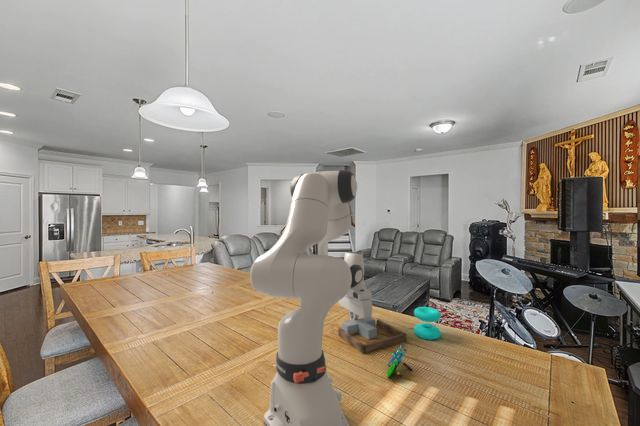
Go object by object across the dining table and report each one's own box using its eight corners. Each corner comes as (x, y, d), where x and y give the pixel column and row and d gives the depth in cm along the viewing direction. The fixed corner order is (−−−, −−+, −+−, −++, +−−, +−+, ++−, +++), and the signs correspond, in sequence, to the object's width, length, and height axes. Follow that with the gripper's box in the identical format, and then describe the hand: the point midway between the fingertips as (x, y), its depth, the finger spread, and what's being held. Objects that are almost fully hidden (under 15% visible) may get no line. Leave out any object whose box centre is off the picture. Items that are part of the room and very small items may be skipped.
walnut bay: (406, 340, 106) (406, 334, 106) (362, 353, 97) (362, 346, 97) (378, 325, 121) (378, 319, 121) (338, 335, 111) (338, 328, 111)
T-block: (386, 334, 112) (386, 325, 112) (358, 342, 105) (357, 333, 105) (369, 324, 121) (369, 316, 121) (342, 331, 115) (342, 322, 115)
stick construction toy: (390, 351, 94) (402, 339, 90) (408, 366, 92) (421, 354, 88) (378, 379, 84) (392, 367, 80) (398, 397, 82) (413, 384, 78)
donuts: (446, 312, 108) (425, 316, 105) (446, 338, 108) (425, 342, 105) (428, 304, 117) (408, 307, 114) (428, 328, 118) (408, 331, 114)
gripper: (334, 284, 127) (334, 315, 127) (362, 297, 109) (362, 332, 109) (346, 282, 130) (346, 312, 130) (374, 294, 112) (374, 329, 112)
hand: (353, 321), depth 119 cm, fingers closed
